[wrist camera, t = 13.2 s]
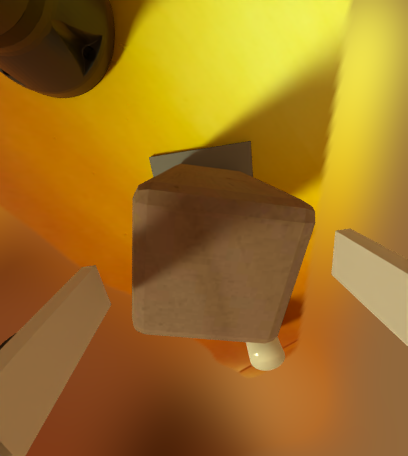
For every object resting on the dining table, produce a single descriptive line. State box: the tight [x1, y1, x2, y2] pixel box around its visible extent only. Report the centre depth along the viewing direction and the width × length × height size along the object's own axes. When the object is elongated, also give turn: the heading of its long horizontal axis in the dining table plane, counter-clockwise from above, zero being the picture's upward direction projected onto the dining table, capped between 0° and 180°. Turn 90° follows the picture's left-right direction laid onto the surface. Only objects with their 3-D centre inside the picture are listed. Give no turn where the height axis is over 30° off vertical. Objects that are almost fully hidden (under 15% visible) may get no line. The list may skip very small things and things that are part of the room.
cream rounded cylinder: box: [246, 337, 285, 370], centre depth 36 cm, size 6×6×7 cm
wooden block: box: [132, 164, 315, 344], centre depth 21 cm, size 10×10×20 cm
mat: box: [149, 141, 253, 177], centre depth 30 cm, size 14×14×1 cm
